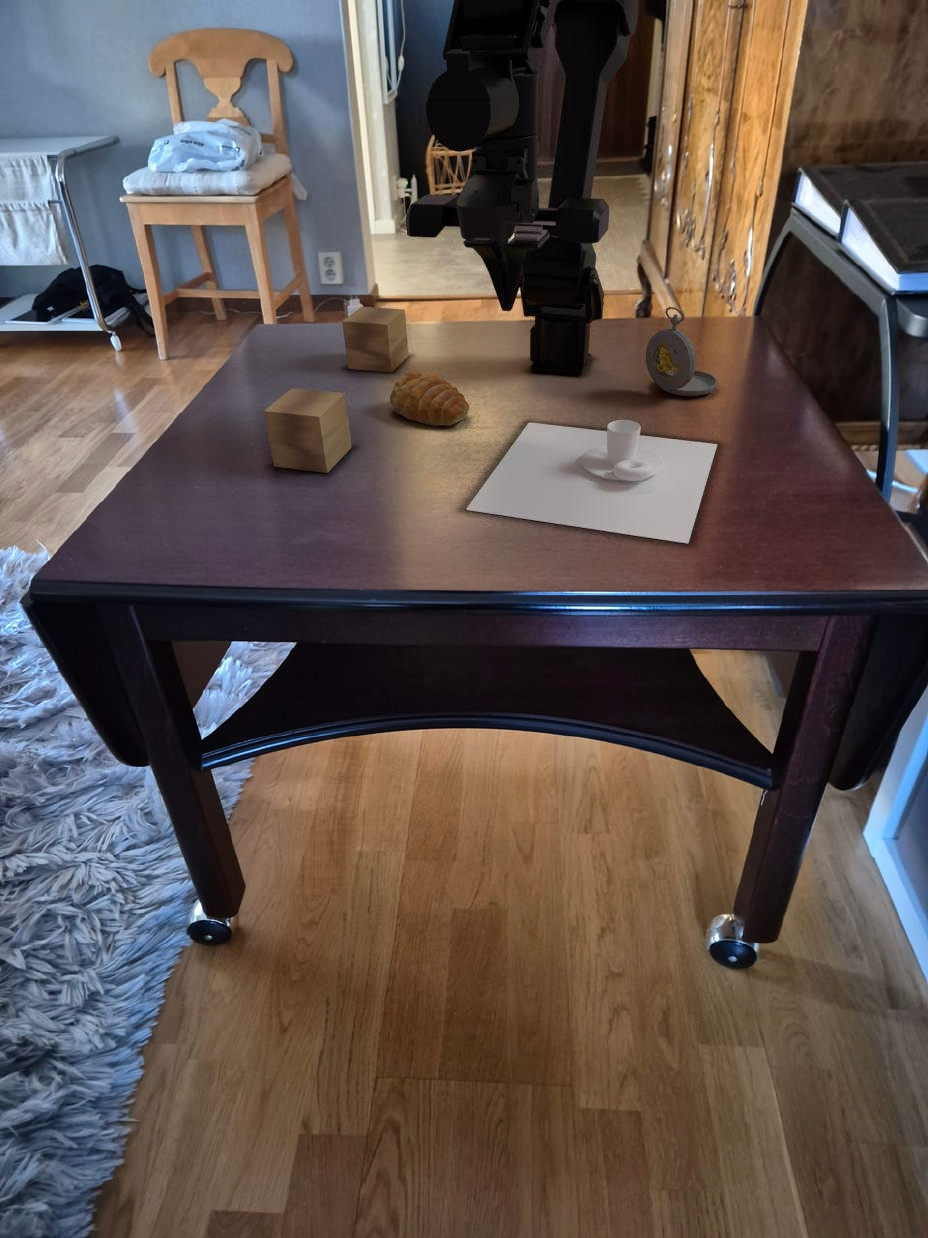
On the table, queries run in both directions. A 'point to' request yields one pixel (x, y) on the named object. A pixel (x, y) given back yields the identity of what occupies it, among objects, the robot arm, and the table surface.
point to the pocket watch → (676, 362)
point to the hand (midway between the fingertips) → (507, 310)
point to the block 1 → (308, 429)
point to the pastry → (428, 400)
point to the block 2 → (375, 339)
